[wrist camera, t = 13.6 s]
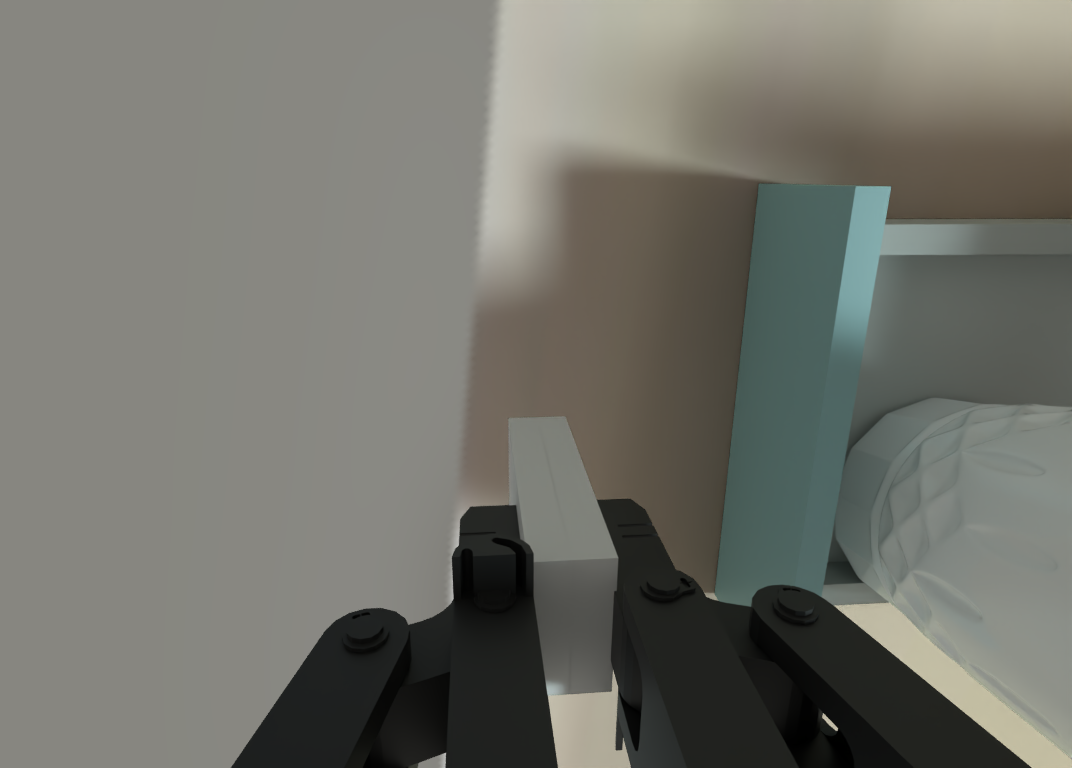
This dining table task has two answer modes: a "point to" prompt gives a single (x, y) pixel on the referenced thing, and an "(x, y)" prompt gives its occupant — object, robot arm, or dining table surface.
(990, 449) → the white cup
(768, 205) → the teal drawer
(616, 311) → the dining table surface
